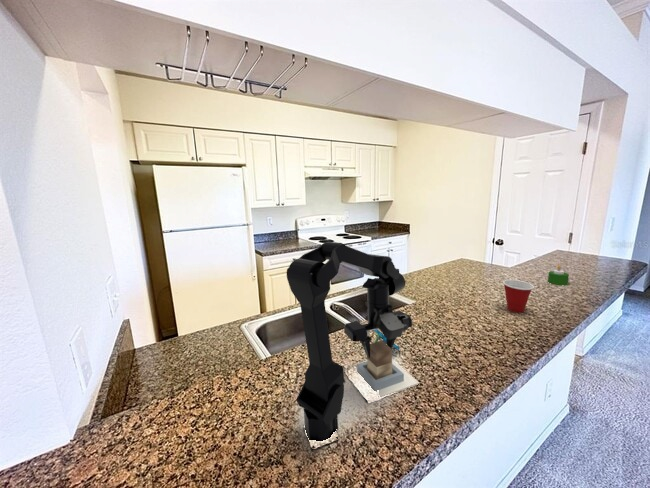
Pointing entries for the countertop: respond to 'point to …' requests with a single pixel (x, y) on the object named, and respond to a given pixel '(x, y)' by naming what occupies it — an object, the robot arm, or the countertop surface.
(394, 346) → the gear
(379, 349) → the walnut block
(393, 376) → the board
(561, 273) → the candle
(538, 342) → the countertop surface
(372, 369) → the maple cube
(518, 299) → the plastic cup
